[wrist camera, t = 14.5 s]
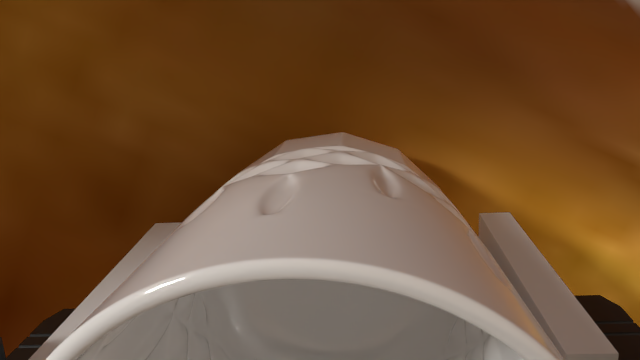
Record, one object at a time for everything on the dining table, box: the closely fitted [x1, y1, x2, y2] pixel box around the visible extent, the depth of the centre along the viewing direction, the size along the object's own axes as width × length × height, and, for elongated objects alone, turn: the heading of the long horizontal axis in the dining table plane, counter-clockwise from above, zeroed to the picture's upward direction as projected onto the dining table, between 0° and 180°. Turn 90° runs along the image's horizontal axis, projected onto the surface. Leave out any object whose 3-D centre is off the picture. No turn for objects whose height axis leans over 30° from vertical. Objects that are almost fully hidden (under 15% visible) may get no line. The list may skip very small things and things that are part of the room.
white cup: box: [45, 132, 565, 360], centre depth 12 cm, size 8×8×10 cm
